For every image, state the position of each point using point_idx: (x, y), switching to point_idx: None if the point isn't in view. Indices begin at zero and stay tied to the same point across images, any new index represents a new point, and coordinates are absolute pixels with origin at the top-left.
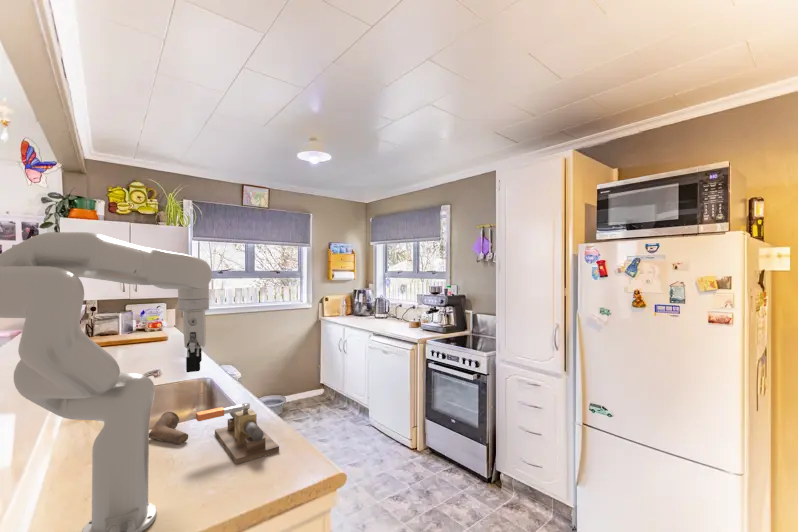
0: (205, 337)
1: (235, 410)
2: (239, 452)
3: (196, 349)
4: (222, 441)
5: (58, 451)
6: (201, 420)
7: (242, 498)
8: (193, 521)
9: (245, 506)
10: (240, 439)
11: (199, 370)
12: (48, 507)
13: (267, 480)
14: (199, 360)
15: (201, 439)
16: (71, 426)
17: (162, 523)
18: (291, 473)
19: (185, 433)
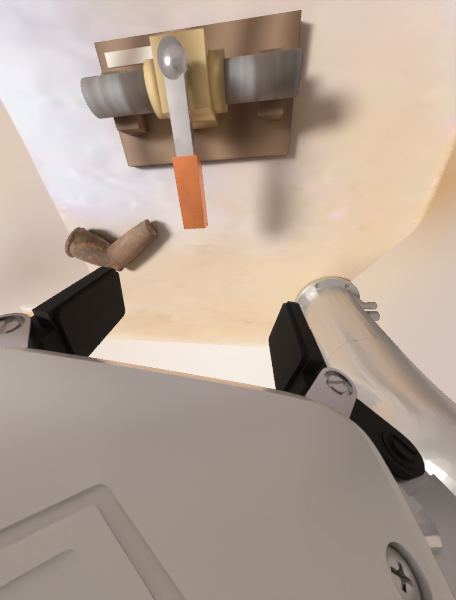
0: (162, 499)
1: (190, 114)
2: (264, 139)
3: (414, 457)
4: None
5: (125, 338)
6: (206, 217)
7: (401, 173)
8: (386, 245)
9: (426, 175)
10: (218, 121)
11: (296, 303)
12: (243, 341)
13: (393, 107)
14: (313, 340)
15: (148, 195)
16: None
17: (356, 273)
18: (423, 30)
19: (145, 226)
